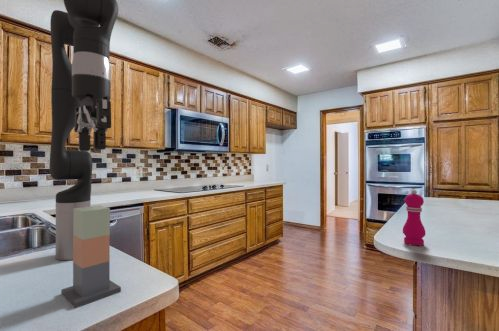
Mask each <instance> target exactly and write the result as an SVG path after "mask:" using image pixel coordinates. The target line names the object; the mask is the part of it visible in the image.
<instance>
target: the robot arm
mask: <svg viewBox="0 0 499 331" xmlns="http://www.w3.org/2000/svg"><path fill="white" fill-rule="evenodd" d="M63 4H64V7H65V11H62V10H58V9H55V10H53V11H52V12H51V15H50V23H49V24H50V25H49V26H50V40H51V41H50V42H51V59H52V60H51V61H52V67H51V69H52V70H51V71H52V72H51V88H50V89H51V90H50V92H51V94H50V95H51V96H50V99H51V101H50V102H51V103H50V104H51V137H50V139H51V141H50V151H49V152H50V153H49V164H48V165H49V175H50V176H51V178H52V180H55V181H58V180H59V181H65V180H66V181H67V180H69V181H70V180H71V181H72V180H77V181H76V183H75V184H74V185H72V186H70V187H68V188H66V189H64V190H60V191H59V192H57V193H56V194H55V260H58V261H73V209H74V208H83V207H91V199H92V198H91V194H92V178H93V177H92V176H93V158H92V154H91V152H89V151H90V150H91V132H92V129H93V136H92V137H93V144H92V146H93V149H94V150H102V151H103V150H105V149H106V147H107V146H106V145H107V144H106V142H107V139H106V138H107V136H106V135H107V133H108V131H109V130H108V129H111V128H112V104H111V103H112V102H111V99H112V96H111V95H112V94H111V92H112V90H111V88H112V83H111V81H112V80H111V78H112V75H111V74H112V71H111V65H110V63H111V62H110V49H111V48H110V46H111V44H110V43H111V38H112V32H113V30H114V27H115V23H116V20H117V18H118V14H119V5H118V1H117V0H63ZM65 45H67V46H70V47H73V50H72V53H73V54H72V61H70V59H69V56H68V53H67V51H66V48H65ZM73 130H74V132H75V133H77V135H78V150H71V149H70V150H69V149H65V148H66V142H67V139H68V137H69V136H70V134H71V133H72V131H73Z"/></svg>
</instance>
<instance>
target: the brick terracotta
mask: <svg viewBox="0 0 499 331" xmlns="http://www.w3.org/2000/svg"><path fill="white" fill-rule="evenodd" d="M110 237H111V236H110V235H105V236H100V237H95V238H90V239H84V240H82V239H80V238H78V237H76V236H74V235H73V259H72V263H73V262H74V263H75V264H77V265H78V266H80V267H81V268H86V267H89V266H93V265H97V264H101V263H104V262H108V261H110V256H111V255H110V254H111V253H110V246H111V245H110V243H111V242H110V240H111V239H110ZM110 262H111V261H110Z"/></svg>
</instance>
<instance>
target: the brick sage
mask: <svg viewBox="0 0 499 331" xmlns="http://www.w3.org/2000/svg"><path fill="white" fill-rule="evenodd" d="M110 211H111V207H107V206H102V205H94V206H90V207H83V208H74V209H73V235H74V236H76V237H78V238H80V239H82V240H84V239H90V238H95V237H100V236H105V235H110V234H111V212H110Z"/></svg>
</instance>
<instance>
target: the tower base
mask: <svg viewBox="0 0 499 331" xmlns="http://www.w3.org/2000/svg"><path fill="white" fill-rule="evenodd" d="M110 262H111V261H108V262H104V263H101V264H97V265H93V266H89V267H86V268H81V267H80V266H78V265H77V264H75V263H74V262H73V261H72V268H73V269H72V286H68V287H65V288H62V289H61V292H60V293H61V295H62V296H63V298H64V299H66V301H68V302H69V303H70V304H71V305H72V306H73V307H74V308H75V309H76V308H79V307H82V306H85V305H88V304H90V303H93V302H96V301H99V300H101V299H104V298H107V297H110V296H113V295H115V294H118V293H121V292H122V286H120V285H118V284H117V283H115V282H113V281H112V280H111V278H110V271H111V269H110Z"/></svg>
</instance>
